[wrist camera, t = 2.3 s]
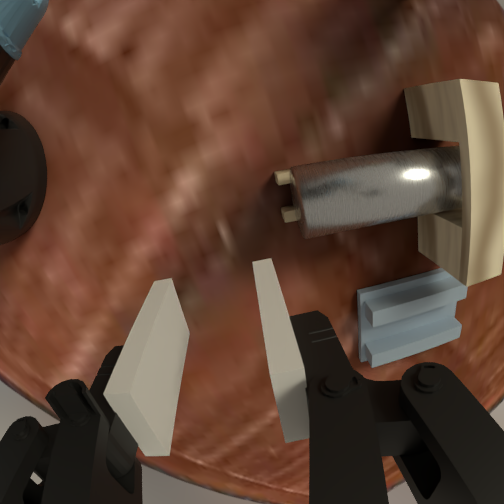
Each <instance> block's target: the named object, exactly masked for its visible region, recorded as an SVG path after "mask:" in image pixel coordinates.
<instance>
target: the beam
mask: <svg viewBox="0 0 504 504" xmlns="http://www.w3.org/2000/svg"><path fill="white" fill-rule="evenodd" d="M404 93H405V98H406V104H407V110H408V117H409V123H410V131H411V138H422V139H434V140H444V141H453V142H459V147H460V160H461V177H462V208H458V209H453V210H448V211H443V212H438V213H433V214H428V215H423V216H418V251H419V252H420V253H422V254H423V255H425V256H426V257H427V258H429V259H430V260H431V261H433V262H434V263H435V264H437V265H438V266H440V267H441V268H442V269H444V270H445V271H446V272H448V273H449V274H450V275H452V276H453V277H454V278H455V279H457V280H458V281H459V282H461V283H462V284H463V285H465V286H466V287H467V286H470V285H473V284H476V283H479V282H481V281H484V280H487V279H490V278H492V277H495V276H498V275H500V274H501V271H502V263H503V255H504V119H503V111H502V104H501V97H500V91H499V85H498V83H493V82H485V81H476V80H465V79H456V80H450V81H443V82H437V83H432V84H426V85H421V86H415V87H410V88H405V89H404ZM289 173H290V169H287V170H282V171H276V172H274V174H275V179H276V183H277V184H278V185H283V184H289V183H290V176H289ZM281 213H282V218H283V219H284V221H285V223H287V222H292V221H297V218H296V215H295V210H294V206H293V205H291V206H286V207H281Z"/></svg>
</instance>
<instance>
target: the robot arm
mask: <svg viewBox="0 0 504 504" xmlns="http://www.w3.org/2000/svg"><path fill="white" fill-rule="evenodd" d="M48 2H49V0H0V85H1V83H2V82H3V80H4V78H5V76H6V75H7V73H8V71H9V70H10V68H11V66H12V65H13V63H14V61H15V60H18V59H19V58H20V57H21V54H22V49H23V47H24V45H25V44H26V42H27V41H28V39H29V37H30V36H31V34H32V33H33V31H34V29H35V28H36V26H37V25H38V23H39V22H40V20H41V19H42V18H43V16H44V14H45V12H46V10H47V7H48ZM46 185H47V167H46V159H45V154H44V150H43V146H42V144H41V141H40V139H39V136H38V134H37V132H36V131H35V129H34V128H33V126H32V125H31V124H30V123H29V122H28V121H27V120H26V119H25V118H24V117H22V116H21V115H19V114H17V113H14V112H11V111H0V245H1V244H5V243H8V242H10V241H12V240H14V239H16V238H17V237H19V236H21V235H22V234H24V233H25V232H26V231H27V230H28V229H29V228H30V227H31V226H32V225H33V223H34V222H35V220H36V219H37V217H38V215H39V213H40V211H41V208H42V205H43V202H44V198H45V193H46ZM252 263H253V270H254V276H255V282H256V289H257V295H258V302H259V308H260V314H261V321H262V327H263V334H264V340H265V346H266V353H267V359H268V366H269V372H270V377H271V382H272V386H273V390H274V395H275V399H276V403H277V408H278V412H279V417H280V421H281V425H282V429H283V434H284V438H285V442H286V443H287V442H292V441H297V440H302V439H307V438H309V448H310V477H309V504H389V502H388V496H387V488H386V482H385V475H384V469H383V463H382V457H381V456H393V458H394V460H395V462H396V464H397V465H398V467H399V469H400V471H401V473H402V475H403V477H404V478H405V480H406V482H407V484H408V486H409V488H410V490H411V492H412V494H413V495H414V497H415V499H416V501H417V503H418V504H504V431H503V430H502V428H501V427H500V426H499V425H498V424H497V423H496V422H495V420H494V419H493V418H492V417H491V416H490V414H489V413H488V412H487V411H486V410H485V408H484V407H483V406H482V405H481V404H480V403H479V401H478V400H477V399H476V398H475V397H474V396H473V395H472V393H471V392H470V391H469V390H468V389H467V388H466V387H465V386H464V384H463V383H462V382H461V381H460V380H459V379H458V378H457V377H456V376H455V375H454V373H453V372H452V371H451V370H449V369H448V368H447V367H445V366H444V365H441V364H438V363H433V362H424V363H420V364H416V365H414V366H412V367H411V368H409V369H407V370H406V372H405V373H404V374H403V376H402V380H395V381H373V380H369V379H366V378H364V377H363V375H361V374H360V373H358V372H357V371H355V370H353V368H352V367H351V364H350V362H349V360H348V358H347V356H346V354H345V352H344V350H343V348H342V346H341V344H340V342H339V339H338V337H337V336H336V333H335V331H334V329H333V327H332V325H331V323H330V321H329V319H328V317H326V316H325V315H323V314H322V313H320V312H319V311H312V312H308V313H303V314H299V315H294V316H289V315H288V311H287V308H286V305H285V301H284V298H283V295H282V292H281V288H280V285H279V282H278V279H277V275H276V272H275V269H274V266H273V262H272V259H271V258H269V259H264V260H259V261H254V262H252ZM189 334H190V332H189V329H188V326H187V324H186V321H185V318H184V315H183V312H182V309H181V306H180V303H179V300H178V297H177V294H176V291H175V288H174V284H173V281H172V278H169V279H164V280H159V281H154V283H153V285H152V287H151V289H150V291H149V293H148V295H147V297H146V300H145V302H144V304H143V306H142V308H141V310H140V312H139V314H138V316H137V318H136V321H135V323H134V325H133V327H132V329H131V331H130V334H129V336H128V338H127V340H126V342H125V345H123V346H115V347H114V348H113V349H112V350H111V351H110V352H109V353H108V354H107V355H106V357H105V359H104V361H103V363H102V365H101V368H100V369H99V371H98V373H97V376H96V377H95V379H94V382H93V384H92V386H91V388H90V390H88V388H87V387H86V385H85V384H84V382H83V381H80V380H78V379H70V380H66V381H63V382H61V383H59V384H58V385H56V386H54V387H53V388H52V389H51V390H50V391H49V392H48V394H47V396H46V397H45V399H46V400H47V401H48V403H49V404H50V406H51V407H52V408H53V410H54V411H55V413H56V414H57V415H58V417H59V418H60V419H61V420H60V423H59V424H54V425H50V426H46V427H42V426H41V425H40V424H39V422H38V421H37V420H36V419H35V418H33V417H31V416H29V417H27V416H26V417H23V418H20V419H18V420H17V421H15V422H14V423H12V425H11V426H10V427H9V429H8V430H7V431H6V433H5V435H4V436H3V438H2V440H1V441H0V504H142V467H141V463H140V462H139V460H138V459H137V458H136V457H135V456H136V452H137V447H138V446H139V448H140V449H141V450H142V452H143V453H144V454H145V456H169V455H170V448H171V441H172V434H173V428H174V421H175V415H176V409H177V402H178V396H179V390H180V385H181V379H182V373H183V367H184V362H185V356H186V351H187V345H188V340H189ZM33 472H34V473H36V474H37V475H38V476H39V477H40V478H41V479H42V480H43V481H42V482H41V483H40V484H38V485H37V484H36V483H35V482H34V481H33V480H32V479H31V478H30V477H31V475H32V473H33Z"/></svg>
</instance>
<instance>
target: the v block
mask: <svg viewBox="0 0 504 504" xmlns="http://www.w3.org/2000/svg"><path fill="white" fill-rule="evenodd" d="M466 294H467V287H466V286H465V285H463V284H462V283H461V282H459V281H458V280H457V279H455V278H454V277H453V276H452V275H450V274H449V273H448V272H446V271H445V270H444V269H442V268H439V269H435V270H432V271H428V272H425V273H421V274H417V275H414V276H410V277H406V278H403V279H399V280H395V281H391V282H387V283H383V284H379V285H375V286H371V287H367V288H363V289H359V290H357V301H358V334H359V359H360V361H361V362H364V361H368V362H369V364H370V366H371V367H372V368H373V367H376V366H380V365H383V364H386V363H389V362H392V361H396V360H399V359H402V358H405V357H408V356H411V355H414V354H416V353H419V352H422V351H425V350H428V349H430V348H433V347H436V346H438V345H441V344H444V343H446V342H449V341H451V340H454V339H456V338H459V337H460V332H461V327H462V325H461V324H460V323H459V322H458V321H457V320H456V319H455V318H454V316H455V309H456V302H457V301H459V300H462V299H464V298H466Z"/></svg>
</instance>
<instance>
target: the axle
mask: <svg viewBox="0 0 504 504" xmlns="http://www.w3.org/2000/svg"><path fill="white" fill-rule="evenodd" d="M289 176H290V188H291V195H292V201H293V206H294V210H295V215H296V218H297V222H298V225H299V228H300V231H301V234H302V236H303V237H304V239H309V238H313V237H318V236H323V235H328V234H333V233H338V232H343V231H348V230H353V229H358V228H363V227H368V226H373V225H378V224H383V223H388V222H393V221H398V220H403V219H408V218H413V217H418V216H423V215H428V214H433V213H438V212H443V211H448V210H453V209H458V208H462V177H461V160H460V147H459V146H450V147H437V148H426V149H416V150H406V151H397V152H388V153H380V154H372V155H364V156H357V157H350V158H343V159H336V160H329V161H323V162H316V163H310V164H304V165H298V166H293V167H290V173H289Z"/></svg>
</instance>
